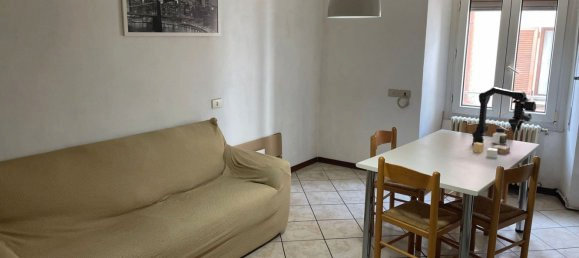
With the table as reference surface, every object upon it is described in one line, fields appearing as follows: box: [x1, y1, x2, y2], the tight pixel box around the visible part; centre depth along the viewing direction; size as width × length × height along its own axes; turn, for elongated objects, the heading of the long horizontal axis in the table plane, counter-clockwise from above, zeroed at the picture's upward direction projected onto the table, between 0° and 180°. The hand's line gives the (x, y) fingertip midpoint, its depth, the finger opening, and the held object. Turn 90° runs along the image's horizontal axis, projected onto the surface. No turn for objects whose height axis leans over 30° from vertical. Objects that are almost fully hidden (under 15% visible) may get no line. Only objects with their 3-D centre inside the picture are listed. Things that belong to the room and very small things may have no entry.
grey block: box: [486, 147, 498, 159], centre depth 313 cm, size 6×6×5 cm
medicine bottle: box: [491, 126, 508, 145], centre depth 350 cm, size 7×7×12 cm
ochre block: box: [472, 142, 485, 153], centre depth 326 cm, size 5×5×6 cm
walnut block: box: [491, 144, 511, 155], centre depth 325 cm, size 9×9×4 cm
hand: (516, 131), depth 325 cm, fingers open, 9 cm apart
